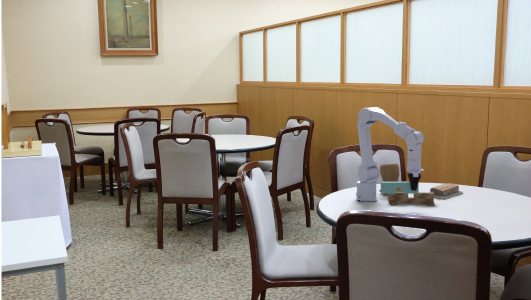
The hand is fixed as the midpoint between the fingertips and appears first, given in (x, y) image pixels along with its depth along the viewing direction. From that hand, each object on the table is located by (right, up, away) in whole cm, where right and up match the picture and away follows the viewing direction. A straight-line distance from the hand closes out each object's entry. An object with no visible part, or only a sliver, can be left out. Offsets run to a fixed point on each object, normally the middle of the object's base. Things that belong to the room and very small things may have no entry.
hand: (413, 189), depth 206 cm
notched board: (+2, -7, +11) cm, 13 cm away
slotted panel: (-6, -2, +1) cm, 6 cm away
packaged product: (+23, -5, +25) cm, 35 cm away
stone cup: (-2, -4, +32) cm, 32 cm away
